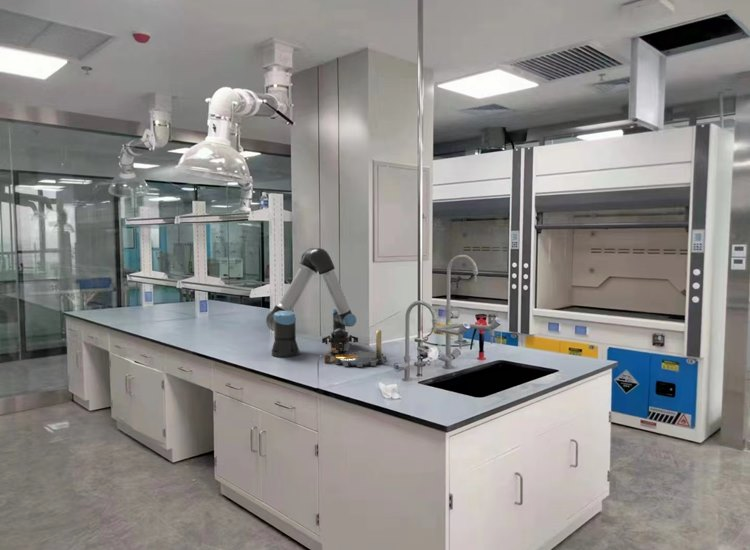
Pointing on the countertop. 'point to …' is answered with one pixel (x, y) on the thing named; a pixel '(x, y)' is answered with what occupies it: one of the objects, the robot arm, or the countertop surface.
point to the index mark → (327, 358)
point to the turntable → (362, 356)
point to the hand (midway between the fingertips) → (340, 342)
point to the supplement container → (339, 342)
